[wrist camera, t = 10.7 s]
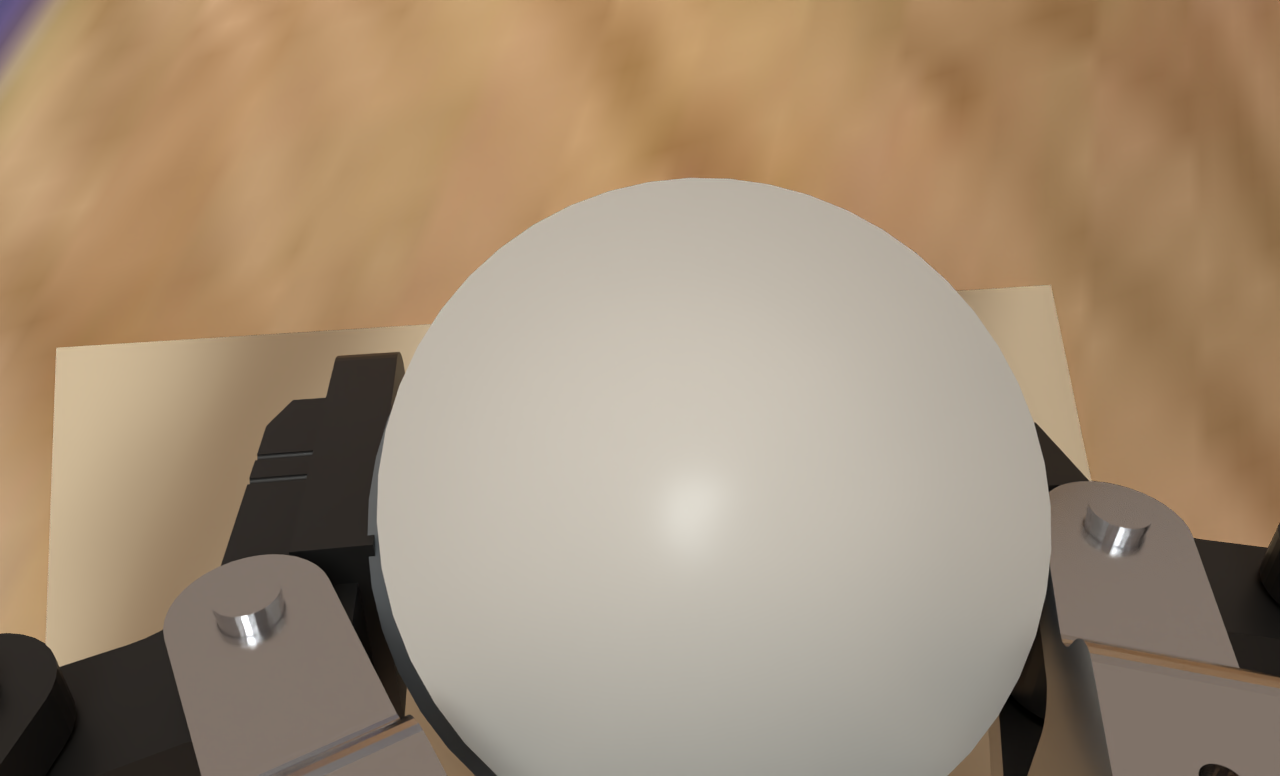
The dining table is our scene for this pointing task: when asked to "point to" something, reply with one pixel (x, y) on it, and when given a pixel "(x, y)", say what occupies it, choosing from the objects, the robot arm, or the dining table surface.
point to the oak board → (231, 436)
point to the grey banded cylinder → (709, 499)
